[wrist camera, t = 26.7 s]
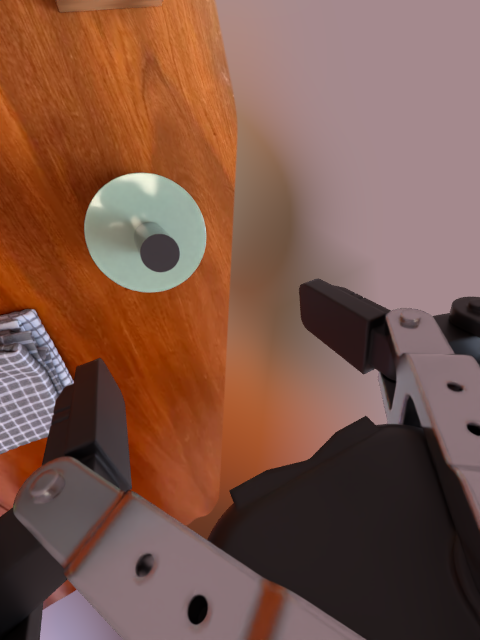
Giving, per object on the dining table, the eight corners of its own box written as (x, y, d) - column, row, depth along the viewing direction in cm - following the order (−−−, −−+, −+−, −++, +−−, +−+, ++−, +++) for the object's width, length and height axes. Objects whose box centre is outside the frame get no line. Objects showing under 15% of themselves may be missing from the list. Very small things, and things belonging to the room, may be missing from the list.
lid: (187, 161, 26) (210, 158, 20) (213, 270, 31) (237, 293, 26) (60, 187, 23) (45, 194, 17) (114, 302, 29) (117, 336, 23)
